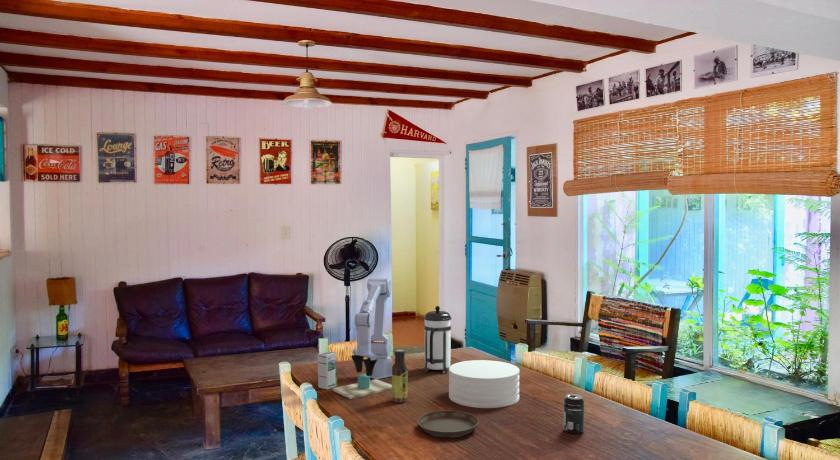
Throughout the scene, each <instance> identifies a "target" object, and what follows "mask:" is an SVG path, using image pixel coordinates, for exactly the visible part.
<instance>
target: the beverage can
mask: <svg viewBox="0 0 840 460" xmlns="http://www.w3.org/2000/svg"><path fill="white" fill-rule="evenodd" d="M563 429H564V430H565V431H566V432H568V433H569V432H570V433H569V434H574V433H577V434H580V432H581V433H582V432H583V431H585V400H584V398H583V395H581V394H579V393H567V394H565V398H563Z"/></svg>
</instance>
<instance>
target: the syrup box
mask: <svg viewBox="0 0 840 460" xmlns="http://www.w3.org/2000/svg"><path fill="white" fill-rule="evenodd" d="M337 362H338V361H337V353H336V352H334V351H329V350H328V351H324V352H320V353H317V382H318V383H317V384H318V385H317V386H318V388H319V389H324V390H330V389H333V388H336V387H338V369H337V367H338V366H337Z"/></svg>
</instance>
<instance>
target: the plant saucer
mask: <svg viewBox="0 0 840 460" xmlns="http://www.w3.org/2000/svg"><path fill="white" fill-rule="evenodd" d="M417 423H418V425H419V427H420V428H421V430H423V431H424V432H425V433H426V434H428V435H431V436H433V437H439V438H443V439H444V438H445V439H446V438H451V439H452V438H453V439H454V438H460V437H465V436H466V435H469V434H470V433H472V432H473V431H474V430H475V429H476V428H477V426H478V424H479V419H478V417H477V416H475V415H474V414H472V413H469V412H465V411H460V410H437V411H431V412H427V413H426V414H422V415H421V416H420V417H419V418H418V420H417Z"/></svg>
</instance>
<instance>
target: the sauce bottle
mask: <svg viewBox="0 0 840 460" xmlns="http://www.w3.org/2000/svg"><path fill="white" fill-rule="evenodd" d="M405 354H406V351H405V349H395V350H394V362H393V363H394V364H392V376H391V385H392V390H391V401H392V402H394V403H406V402H408V394H409V393H408V387H409V386H408V384H409V381H408V379H409V378H408V376H409V373H408V372H409V371H408V368H407V364H406V360H405Z"/></svg>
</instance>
